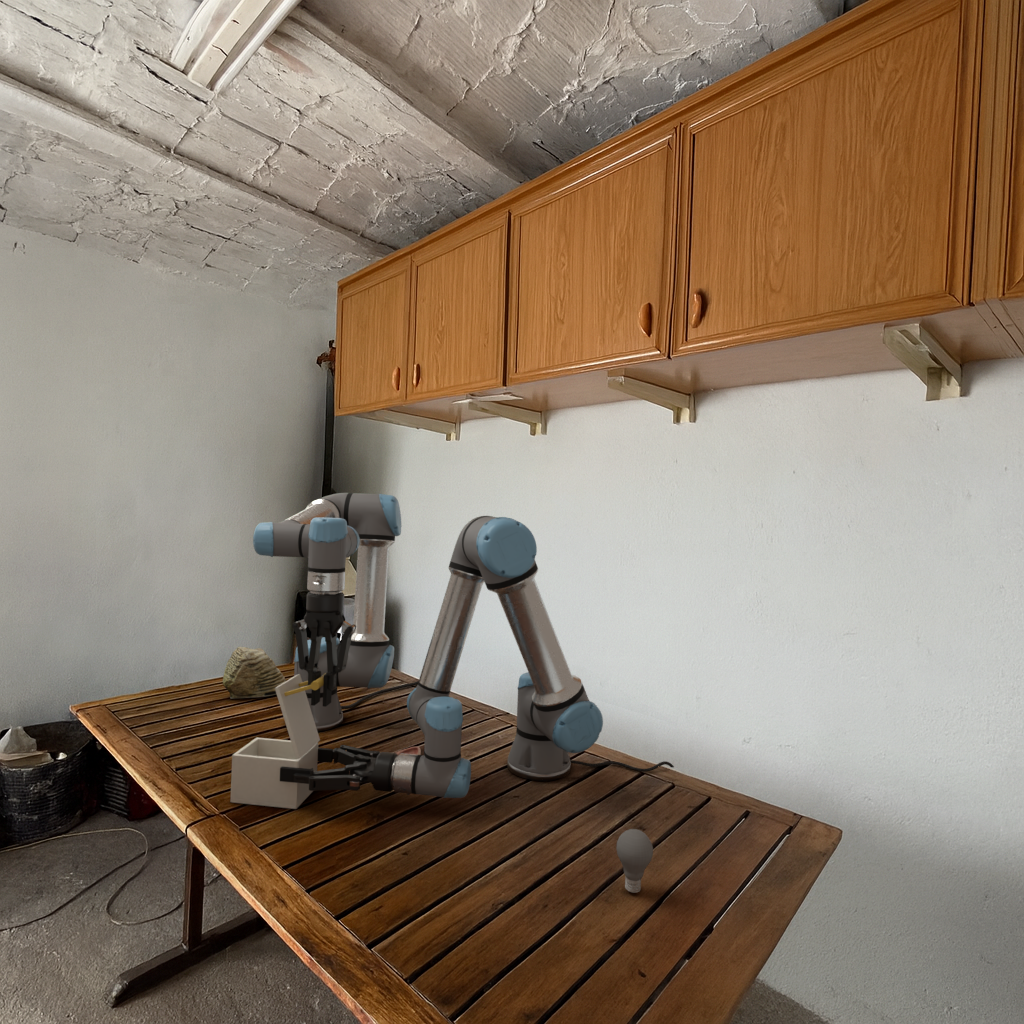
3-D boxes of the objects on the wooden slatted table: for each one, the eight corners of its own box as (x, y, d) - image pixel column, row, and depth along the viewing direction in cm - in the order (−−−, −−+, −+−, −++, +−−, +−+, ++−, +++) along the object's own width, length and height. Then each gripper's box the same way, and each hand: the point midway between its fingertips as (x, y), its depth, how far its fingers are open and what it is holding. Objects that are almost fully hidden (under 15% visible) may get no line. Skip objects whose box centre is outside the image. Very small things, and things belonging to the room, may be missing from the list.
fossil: (218, 695, 195) (220, 647, 195) (278, 685, 208) (279, 640, 207) (228, 703, 189) (230, 653, 188) (289, 692, 201) (290, 645, 201)
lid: (274, 688, 128) (313, 676, 127) (296, 674, 138) (332, 664, 137) (296, 759, 128) (335, 748, 127) (316, 741, 138) (352, 730, 137)
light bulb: (610, 879, 108) (613, 822, 108) (644, 879, 109) (647, 822, 109) (619, 902, 102) (622, 840, 102) (655, 901, 103) (658, 840, 103)
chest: (230, 802, 130) (232, 755, 130) (254, 781, 139) (256, 737, 139) (296, 809, 128) (298, 761, 128) (316, 787, 138) (318, 742, 138)
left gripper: (283, 591, 129) (278, 706, 129) (353, 596, 127) (348, 712, 128) (299, 587, 136) (295, 695, 137) (366, 591, 135) (361, 701, 135)
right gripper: (377, 817, 120) (265, 806, 122) (409, 767, 142) (314, 759, 145) (379, 778, 120) (266, 767, 122) (410, 734, 142) (315, 726, 144)
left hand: (321, 703), depth 132 cm, fingers closed on lid, 2 cm apart
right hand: (292, 763), depth 133 cm, fingers closed on chest, 10 cm apart
